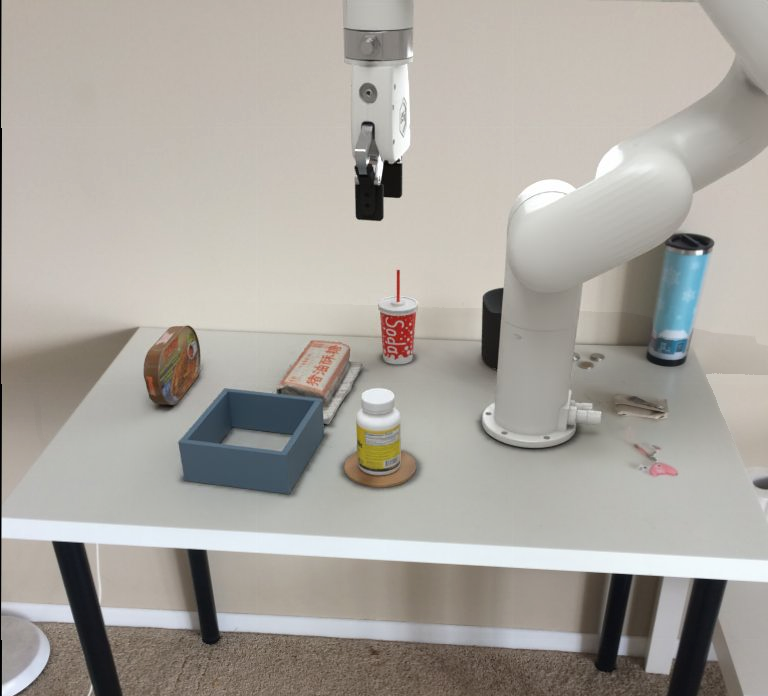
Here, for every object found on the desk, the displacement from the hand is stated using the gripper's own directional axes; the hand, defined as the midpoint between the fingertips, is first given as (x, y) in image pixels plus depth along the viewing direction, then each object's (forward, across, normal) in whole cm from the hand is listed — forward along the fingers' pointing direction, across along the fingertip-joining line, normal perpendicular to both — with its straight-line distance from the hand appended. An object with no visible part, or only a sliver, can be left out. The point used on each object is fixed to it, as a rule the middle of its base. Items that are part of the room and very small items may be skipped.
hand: (379, 207), depth 104 cm
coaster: (+28, -13, -3) cm, 31 cm away
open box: (+28, -14, +13) cm, 34 cm away
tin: (+28, +1, +31) cm, 42 cm away
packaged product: (+28, +5, +11) cm, 31 cm away
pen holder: (+28, +22, -15) cm, 39 cm away
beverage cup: (+28, +19, +2) cm, 34 cm away
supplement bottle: (+28, -13, -3) cm, 31 cm away
